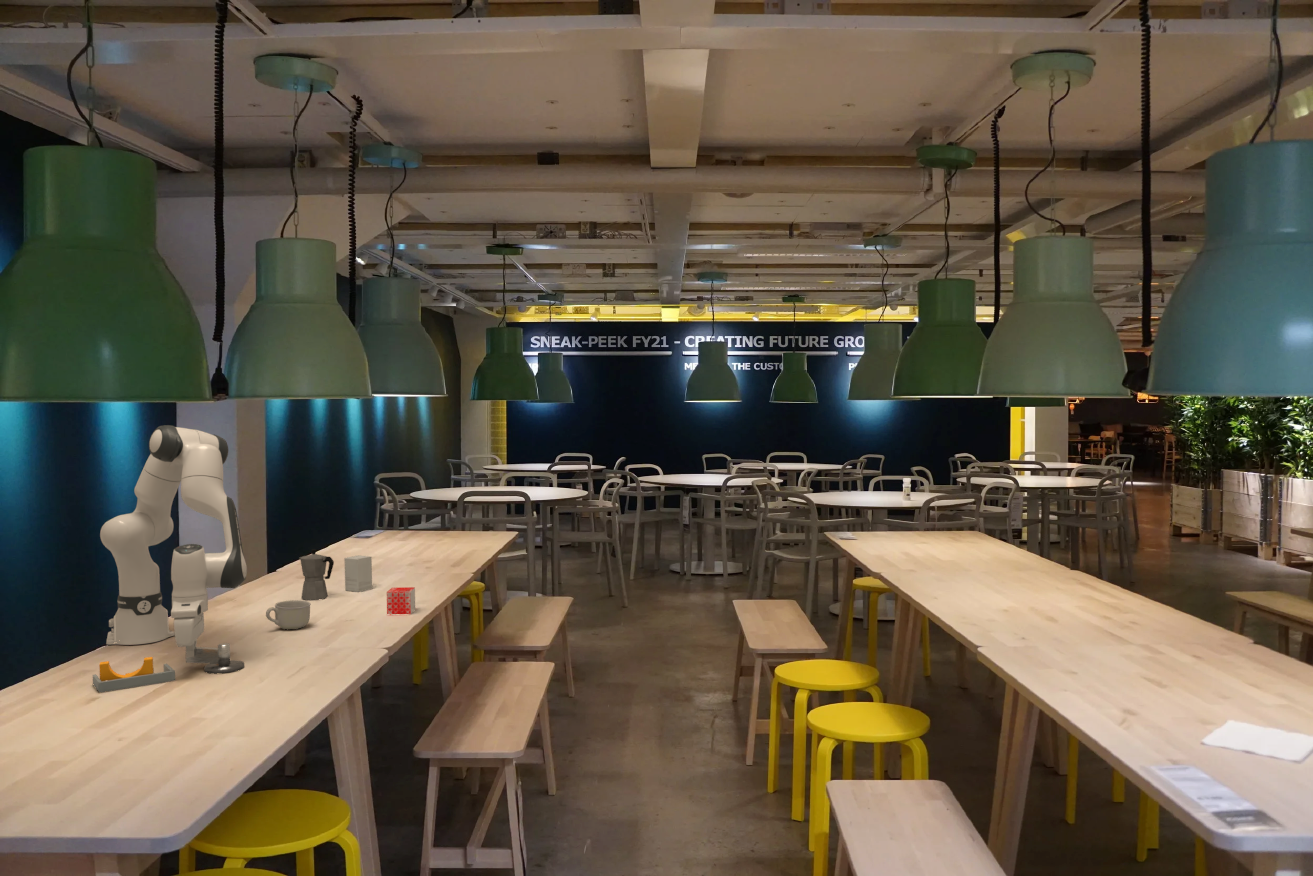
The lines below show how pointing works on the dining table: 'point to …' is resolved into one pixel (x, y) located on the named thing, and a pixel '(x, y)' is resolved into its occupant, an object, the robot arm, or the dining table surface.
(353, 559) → the supplement box
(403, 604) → the puzzle cube
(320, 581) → the coffeepot
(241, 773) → the dining table surface
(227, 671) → the crank base
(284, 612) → the teacup
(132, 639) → the robot arm
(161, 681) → the bay
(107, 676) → the pipe clamp
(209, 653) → the crank
